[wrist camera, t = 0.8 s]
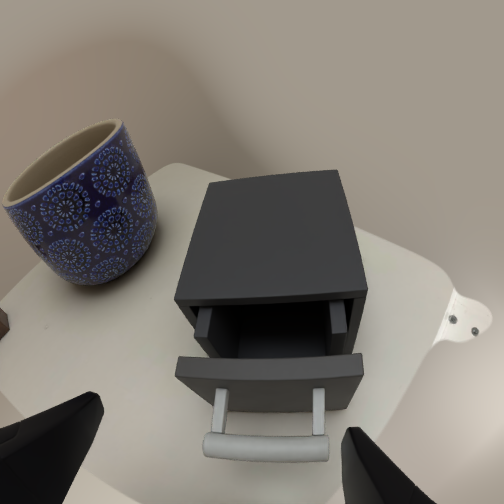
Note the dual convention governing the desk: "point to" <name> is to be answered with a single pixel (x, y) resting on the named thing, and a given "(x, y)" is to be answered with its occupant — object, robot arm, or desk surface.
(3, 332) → the walnut block
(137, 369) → the desk surface
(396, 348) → the desk surface
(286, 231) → the cabinet
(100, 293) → the desk surface
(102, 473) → the desk surface
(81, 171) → the planter
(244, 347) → the drawer
